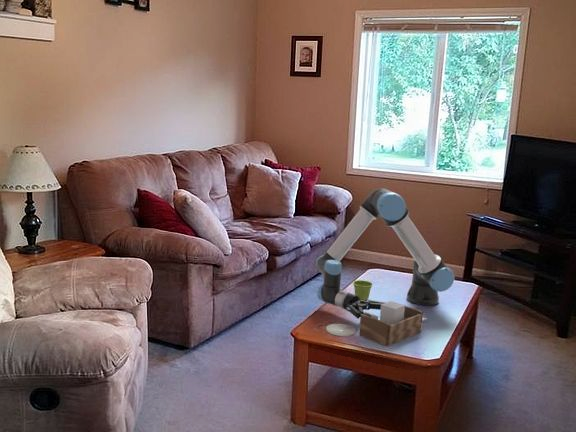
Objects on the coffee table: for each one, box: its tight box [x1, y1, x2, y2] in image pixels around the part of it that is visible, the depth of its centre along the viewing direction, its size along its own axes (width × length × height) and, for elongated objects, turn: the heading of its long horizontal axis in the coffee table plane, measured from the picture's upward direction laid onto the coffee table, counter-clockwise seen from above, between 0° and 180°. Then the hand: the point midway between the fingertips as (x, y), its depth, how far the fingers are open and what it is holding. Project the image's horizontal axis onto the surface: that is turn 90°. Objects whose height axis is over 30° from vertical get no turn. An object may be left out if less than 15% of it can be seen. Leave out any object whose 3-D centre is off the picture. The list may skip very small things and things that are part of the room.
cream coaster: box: [326, 323, 356, 337], centre depth 251 cm, size 12×12×1 cm
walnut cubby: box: [358, 305, 424, 347], centre depth 250 cm, size 24×14×9 cm, turn 135°
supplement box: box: [379, 300, 406, 325], centre depth 250 cm, size 7×7×13 cm
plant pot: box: [352, 279, 374, 301], centre depth 289 cm, size 9×9×9 cm
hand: (387, 315), depth 250 cm, fingers open, 13 cm apart
